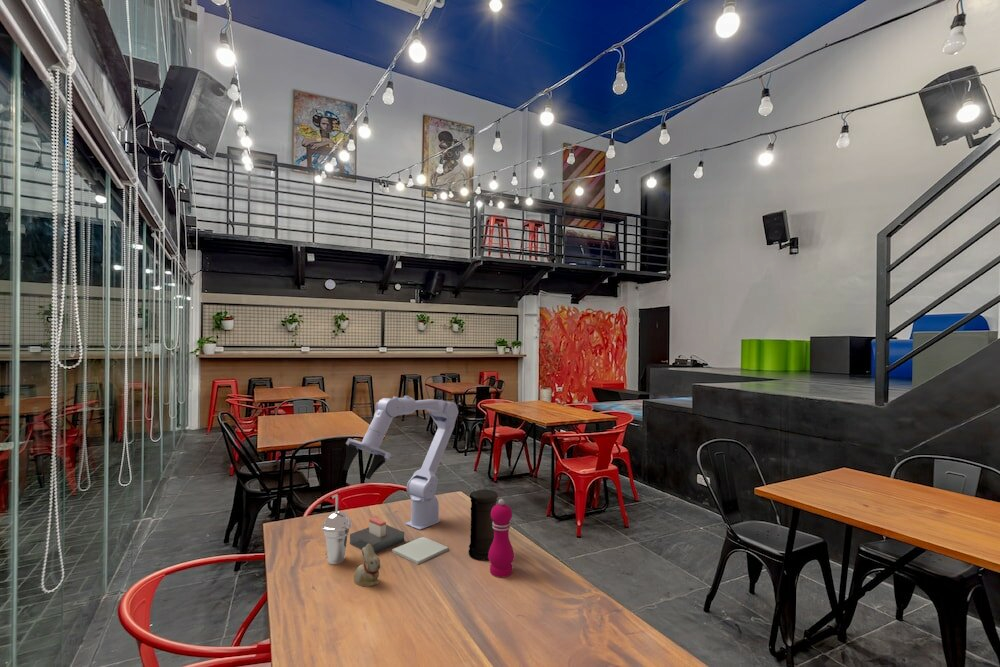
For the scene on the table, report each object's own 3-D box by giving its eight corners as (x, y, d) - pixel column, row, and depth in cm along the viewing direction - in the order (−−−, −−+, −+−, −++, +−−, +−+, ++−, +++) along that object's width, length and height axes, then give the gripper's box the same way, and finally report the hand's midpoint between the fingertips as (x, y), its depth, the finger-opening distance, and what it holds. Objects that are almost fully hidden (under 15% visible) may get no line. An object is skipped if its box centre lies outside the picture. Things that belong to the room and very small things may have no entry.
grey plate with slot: (381, 531, 152) (381, 522, 152) (404, 541, 144) (404, 532, 144) (349, 543, 142) (349, 534, 142) (372, 554, 135) (372, 544, 135)
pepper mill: (511, 579, 121) (511, 504, 121) (485, 576, 122) (485, 502, 123) (516, 566, 128) (516, 495, 128) (491, 564, 129) (491, 493, 130)
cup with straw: (357, 557, 133) (358, 488, 134) (334, 570, 125) (335, 498, 126) (336, 551, 137) (337, 485, 137) (312, 564, 129) (313, 493, 129)
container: (499, 547, 140) (500, 489, 140) (496, 561, 131) (497, 499, 131) (471, 546, 141) (471, 488, 141) (466, 560, 132) (466, 497, 132)
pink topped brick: (374, 539, 146) (374, 517, 146) (385, 544, 142) (385, 522, 142) (368, 541, 144) (369, 519, 144) (380, 546, 140) (380, 523, 141)
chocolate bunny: (360, 591, 115) (360, 551, 115) (351, 578, 121) (352, 540, 121) (381, 585, 118) (382, 546, 118) (372, 572, 124) (372, 536, 124)
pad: (422, 539, 146) (422, 536, 146) (448, 549, 138) (448, 547, 138) (392, 552, 137) (392, 549, 137) (417, 564, 129) (418, 561, 129)
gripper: (352, 422, 142) (330, 463, 136) (393, 436, 139) (373, 479, 134) (358, 428, 148) (339, 468, 142) (398, 442, 146) (380, 483, 140)
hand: (356, 474), depth 138 cm, fingers open, 7 cm apart
